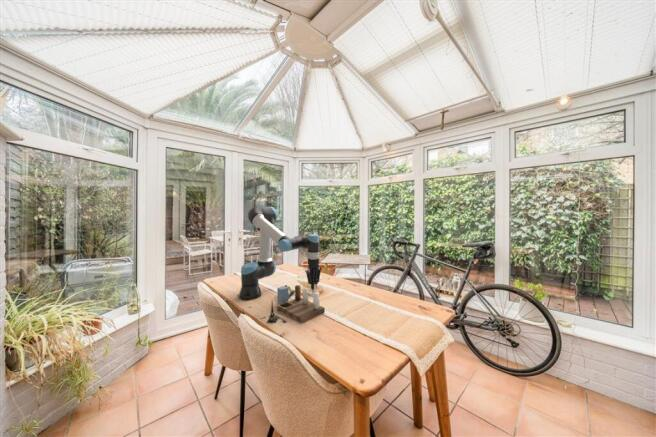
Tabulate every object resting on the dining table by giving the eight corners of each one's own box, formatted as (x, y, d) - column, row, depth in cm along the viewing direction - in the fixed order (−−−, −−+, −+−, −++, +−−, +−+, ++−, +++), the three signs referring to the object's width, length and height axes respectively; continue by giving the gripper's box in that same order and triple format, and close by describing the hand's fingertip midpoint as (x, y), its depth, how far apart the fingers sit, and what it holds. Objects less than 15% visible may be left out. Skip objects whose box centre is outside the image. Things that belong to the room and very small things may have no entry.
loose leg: (277, 304, 158) (277, 287, 157) (284, 301, 161) (283, 285, 161) (282, 306, 154) (281, 289, 154) (288, 304, 158) (288, 287, 157)
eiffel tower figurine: (288, 323, 133) (287, 299, 133) (272, 329, 126) (271, 305, 126) (274, 314, 144) (273, 292, 144) (258, 319, 137) (258, 297, 137)
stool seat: (277, 310, 149) (276, 291, 148) (299, 301, 161) (299, 284, 161) (301, 323, 132) (301, 302, 131) (324, 312, 145) (324, 293, 144)
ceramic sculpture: (275, 287, 164) (282, 282, 179) (275, 300, 164) (282, 293, 179) (290, 288, 163) (296, 282, 177) (290, 301, 163) (295, 294, 177)
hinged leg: (320, 307, 144) (320, 293, 143) (316, 309, 141) (316, 294, 141) (305, 301, 153) (305, 287, 153) (301, 303, 151) (301, 289, 150)
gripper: (309, 260, 147) (310, 298, 148) (324, 257, 156) (324, 292, 158) (302, 259, 152) (302, 295, 154) (316, 255, 162) (317, 289, 163)
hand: (313, 293), depth 156 cm, fingers closed
